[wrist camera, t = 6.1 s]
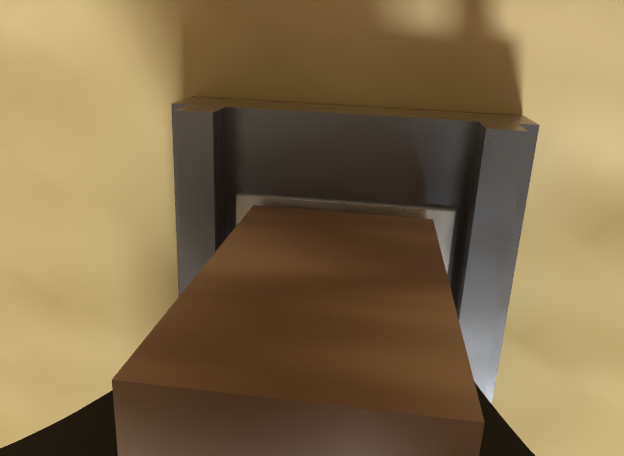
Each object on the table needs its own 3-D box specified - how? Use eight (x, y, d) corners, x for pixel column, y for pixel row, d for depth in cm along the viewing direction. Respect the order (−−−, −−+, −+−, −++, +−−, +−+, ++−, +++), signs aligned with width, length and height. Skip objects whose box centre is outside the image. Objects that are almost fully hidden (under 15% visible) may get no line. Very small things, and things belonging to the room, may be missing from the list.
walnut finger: (432, 219, 12) (483, 422, 6) (408, 432, 14) (425, 772, 8) (253, 204, 13) (112, 380, 6) (250, 414, 15) (139, 721, 8)
